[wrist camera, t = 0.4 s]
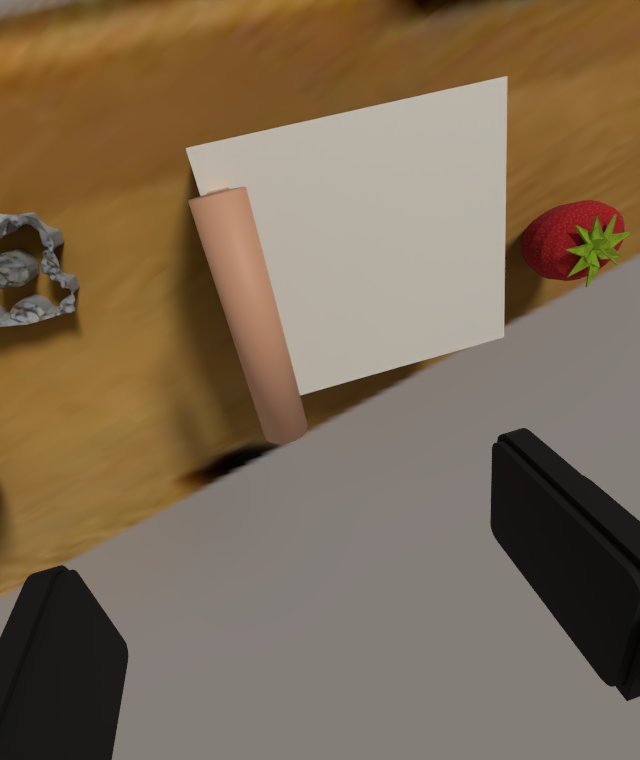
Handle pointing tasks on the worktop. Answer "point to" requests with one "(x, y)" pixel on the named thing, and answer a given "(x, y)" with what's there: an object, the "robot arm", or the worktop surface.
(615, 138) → the worktop surface
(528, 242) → the strawberry
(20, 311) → the egg carton
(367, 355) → the flap
